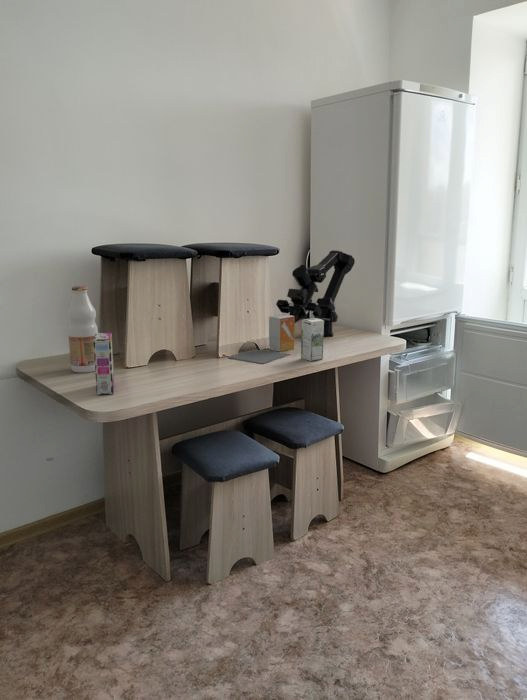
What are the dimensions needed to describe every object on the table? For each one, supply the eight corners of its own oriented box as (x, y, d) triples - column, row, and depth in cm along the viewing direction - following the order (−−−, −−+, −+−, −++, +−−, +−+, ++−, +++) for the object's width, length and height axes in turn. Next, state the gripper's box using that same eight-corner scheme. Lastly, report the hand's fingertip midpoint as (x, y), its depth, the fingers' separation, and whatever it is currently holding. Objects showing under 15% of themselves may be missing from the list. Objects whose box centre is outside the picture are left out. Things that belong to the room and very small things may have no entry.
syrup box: (313, 356, 209) (313, 317, 206) (323, 359, 204) (324, 319, 201) (300, 358, 206) (301, 318, 202) (311, 361, 201) (311, 321, 198)
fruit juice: (67, 373, 188) (60, 288, 182) (76, 366, 197) (70, 285, 191) (95, 373, 188) (89, 288, 181) (103, 366, 197) (98, 285, 191)
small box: (280, 352, 216) (280, 318, 213) (268, 349, 220) (268, 316, 217) (294, 348, 221) (295, 315, 218) (283, 346, 226) (283, 313, 223)
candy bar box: (114, 394, 165) (110, 339, 161) (96, 396, 164) (92, 340, 160) (115, 384, 175) (111, 331, 172) (98, 385, 174) (94, 332, 170)
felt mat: (255, 349, 221) (255, 348, 220) (290, 354, 211) (290, 354, 211) (227, 357, 207) (227, 357, 207) (263, 364, 198) (263, 363, 198)
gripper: (278, 279, 229) (262, 310, 223) (318, 282, 218) (302, 314, 212) (289, 296, 237) (274, 327, 231) (328, 300, 226) (313, 332, 220)
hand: (290, 324), depth 223 cm, fingers closed
